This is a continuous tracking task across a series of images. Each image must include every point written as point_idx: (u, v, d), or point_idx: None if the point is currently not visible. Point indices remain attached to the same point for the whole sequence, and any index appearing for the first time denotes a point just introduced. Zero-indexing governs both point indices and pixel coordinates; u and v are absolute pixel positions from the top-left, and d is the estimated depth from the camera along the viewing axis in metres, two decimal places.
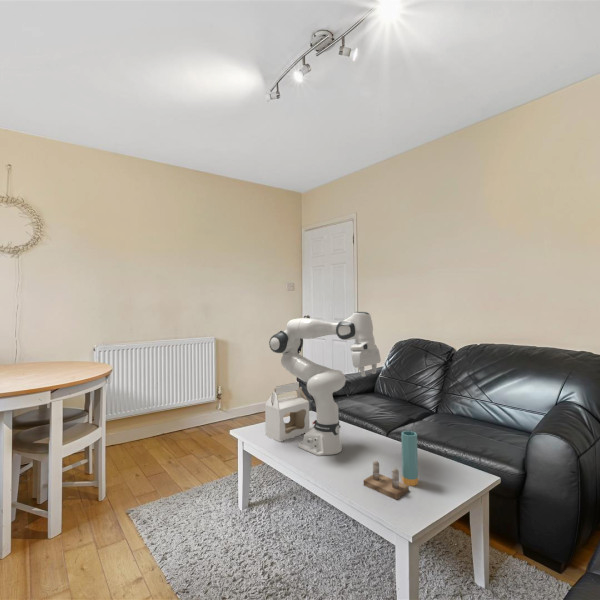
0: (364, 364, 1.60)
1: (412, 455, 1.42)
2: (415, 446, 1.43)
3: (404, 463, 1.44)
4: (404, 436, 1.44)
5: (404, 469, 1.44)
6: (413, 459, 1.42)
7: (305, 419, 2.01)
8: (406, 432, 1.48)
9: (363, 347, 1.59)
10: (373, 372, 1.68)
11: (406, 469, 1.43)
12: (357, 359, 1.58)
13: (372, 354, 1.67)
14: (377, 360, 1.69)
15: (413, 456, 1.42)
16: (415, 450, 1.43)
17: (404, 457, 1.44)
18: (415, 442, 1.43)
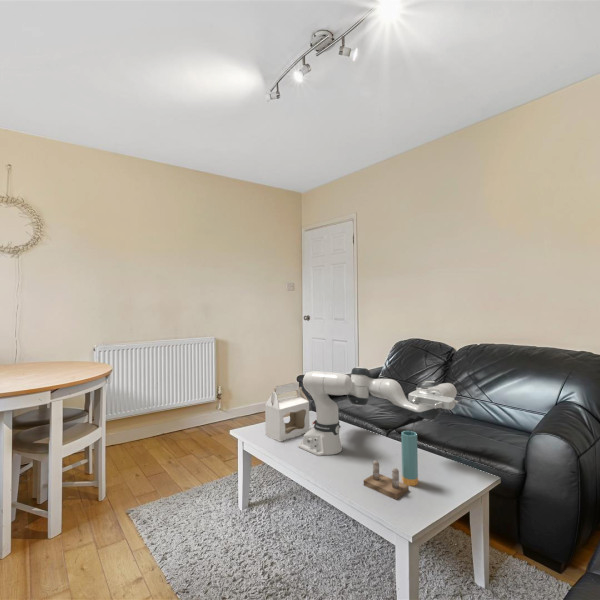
0: (416, 395, 1.63)
1: (412, 455, 1.42)
2: (415, 446, 1.43)
3: (404, 463, 1.44)
4: (404, 436, 1.44)
5: (404, 469, 1.44)
6: (413, 459, 1.42)
7: (305, 419, 2.01)
8: (406, 432, 1.48)
9: (421, 388, 1.70)
10: None
11: (406, 469, 1.43)
12: None
13: (438, 397, 1.60)
14: (443, 399, 1.55)
15: (413, 456, 1.42)
16: (415, 450, 1.43)
17: (404, 457, 1.44)
18: (415, 442, 1.43)
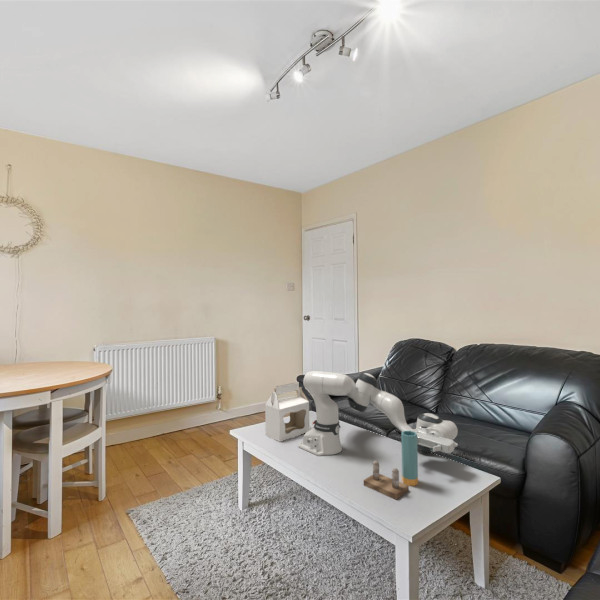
0: None
1: (412, 455, 1.42)
2: (415, 446, 1.43)
3: (404, 463, 1.44)
4: (404, 436, 1.44)
5: (404, 469, 1.44)
6: (413, 459, 1.42)
7: (305, 419, 2.01)
8: (406, 432, 1.48)
9: (420, 426, 1.66)
10: None
11: (406, 469, 1.43)
12: None
13: (437, 438, 1.56)
14: (442, 442, 1.51)
15: (413, 456, 1.42)
16: (415, 450, 1.43)
17: (404, 457, 1.44)
18: (415, 442, 1.43)
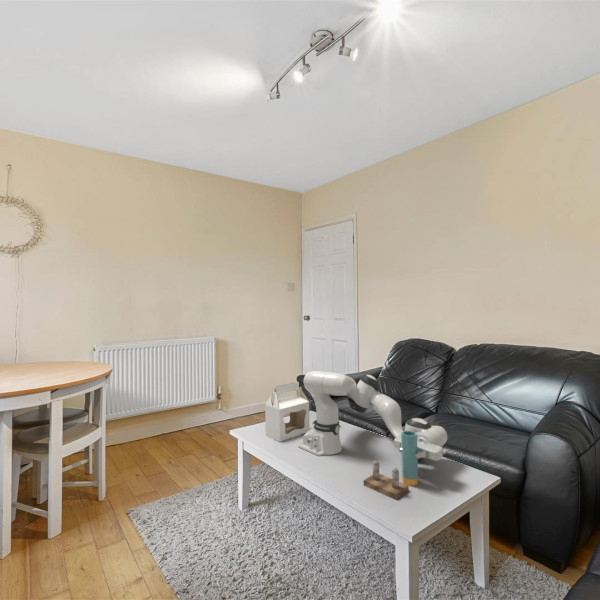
0: None
1: (412, 455, 1.42)
2: (415, 446, 1.43)
3: (404, 463, 1.44)
4: (404, 436, 1.44)
5: (404, 469, 1.44)
6: (413, 459, 1.42)
7: (305, 419, 2.01)
8: (406, 432, 1.48)
9: None
10: None
11: (406, 469, 1.43)
12: None
13: (425, 445, 1.49)
14: (430, 449, 1.44)
15: (413, 456, 1.42)
16: (415, 450, 1.43)
17: (404, 457, 1.44)
18: (415, 442, 1.43)
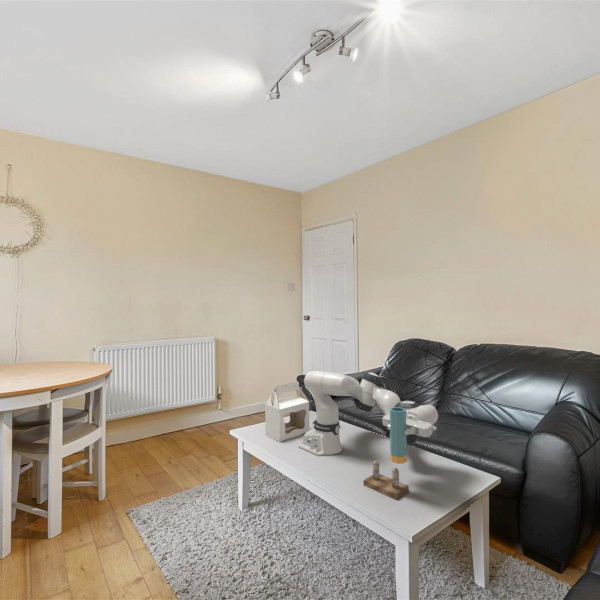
0: None
1: (401, 432, 1.36)
2: (404, 422, 1.37)
3: (392, 440, 1.37)
4: (392, 412, 1.37)
5: (392, 446, 1.37)
6: (402, 436, 1.36)
7: (305, 419, 2.01)
8: (395, 408, 1.41)
9: None
10: None
11: (394, 446, 1.37)
12: None
13: (415, 422, 1.43)
14: (419, 425, 1.38)
15: (402, 433, 1.36)
16: (404, 426, 1.37)
17: (392, 434, 1.37)
18: (404, 418, 1.37)
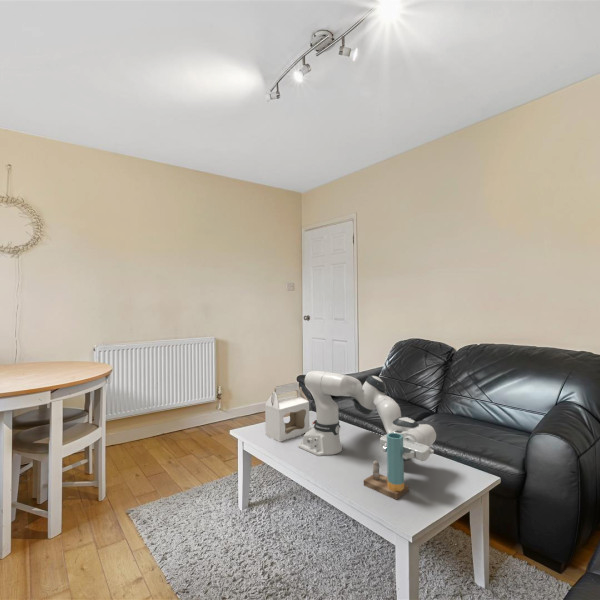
0: None
1: (398, 459, 1.35)
2: (401, 449, 1.35)
3: (389, 467, 1.36)
4: (389, 439, 1.36)
5: (389, 473, 1.36)
6: (399, 463, 1.35)
7: (305, 419, 2.01)
8: (392, 434, 1.40)
9: (395, 431, 1.52)
10: None
11: (391, 473, 1.36)
12: None
13: (412, 444, 1.41)
14: (416, 448, 1.37)
15: (399, 460, 1.35)
16: (401, 453, 1.35)
17: (389, 461, 1.36)
18: (401, 445, 1.35)
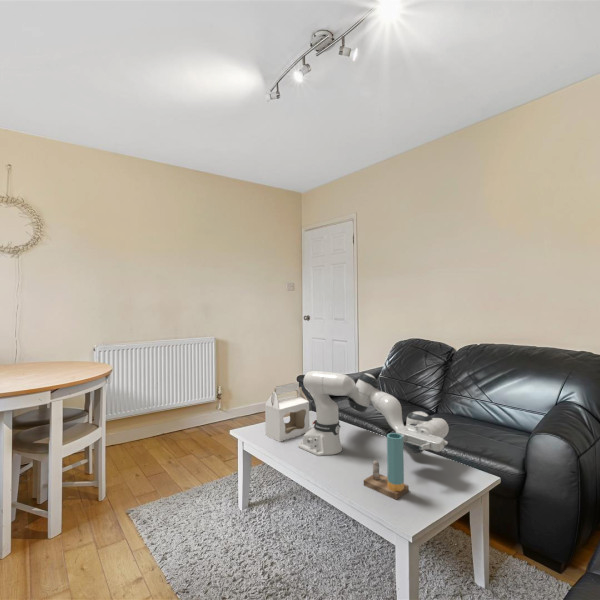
0: (403, 432, 1.53)
1: (398, 459, 1.35)
2: (401, 449, 1.35)
3: (389, 467, 1.36)
4: (389, 439, 1.36)
5: (389, 473, 1.36)
6: (399, 463, 1.35)
7: (305, 419, 2.01)
8: (392, 434, 1.40)
9: (409, 424, 1.60)
10: None
11: (391, 473, 1.36)
12: None
13: (427, 436, 1.50)
14: (431, 440, 1.45)
15: (399, 460, 1.35)
16: (401, 453, 1.35)
17: (389, 461, 1.36)
18: (401, 445, 1.35)
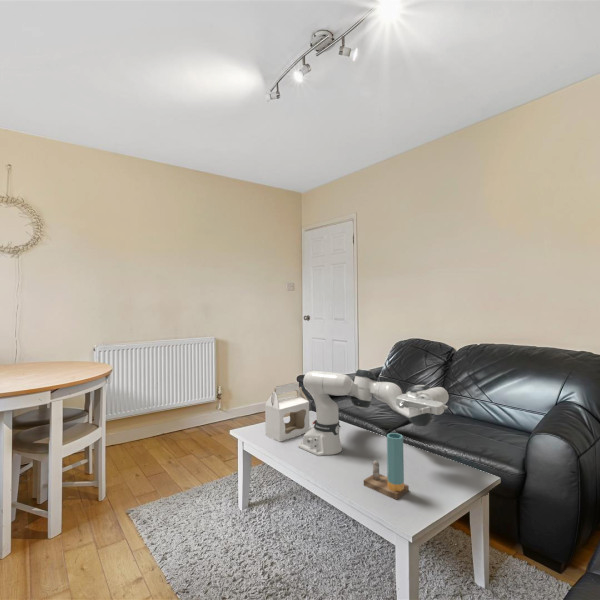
0: (404, 398, 1.54)
1: (398, 459, 1.35)
2: (401, 449, 1.35)
3: (389, 467, 1.36)
4: (389, 439, 1.36)
5: (389, 473, 1.36)
6: (399, 463, 1.35)
7: (305, 419, 2.01)
8: (392, 434, 1.40)
9: (410, 391, 1.61)
10: None
11: (391, 473, 1.36)
12: None
13: (427, 401, 1.50)
14: (431, 404, 1.46)
15: (399, 460, 1.35)
16: (401, 453, 1.35)
17: (389, 461, 1.36)
18: (401, 445, 1.35)
